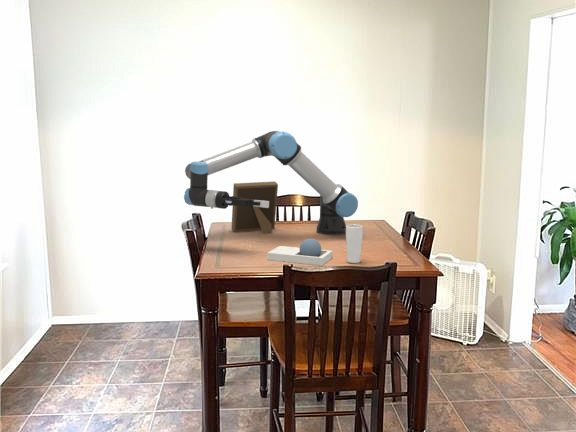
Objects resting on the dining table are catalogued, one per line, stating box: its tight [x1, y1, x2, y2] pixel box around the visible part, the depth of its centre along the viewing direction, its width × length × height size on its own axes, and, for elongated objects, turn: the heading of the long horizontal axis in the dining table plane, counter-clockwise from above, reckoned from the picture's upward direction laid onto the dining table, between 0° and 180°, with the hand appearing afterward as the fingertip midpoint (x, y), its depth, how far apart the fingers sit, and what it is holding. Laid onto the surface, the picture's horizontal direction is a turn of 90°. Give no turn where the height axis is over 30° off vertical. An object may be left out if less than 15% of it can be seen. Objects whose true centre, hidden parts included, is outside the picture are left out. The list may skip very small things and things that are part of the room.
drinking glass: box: [345, 223, 364, 264], centre depth 236 cm, size 7×7×15 cm
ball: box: [299, 238, 322, 257], centre depth 240 cm, size 9×9×9 cm
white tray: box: [266, 245, 334, 266], centre depth 243 cm, size 24×13×3 cm, turn 68°
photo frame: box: [231, 181, 279, 234], centre depth 293 cm, size 15×22×25 cm
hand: (268, 204), depth 246 cm, fingers closed
